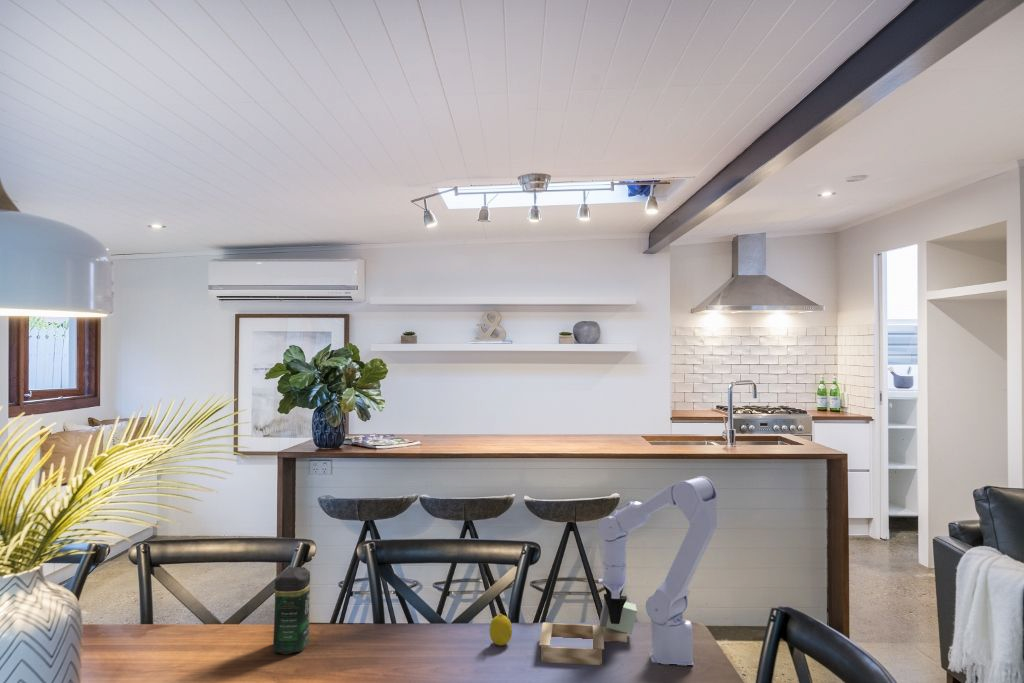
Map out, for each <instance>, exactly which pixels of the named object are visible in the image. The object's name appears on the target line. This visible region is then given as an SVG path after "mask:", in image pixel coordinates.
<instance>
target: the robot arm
mask: <svg viewBox="0 0 1024 683" xmlns="http://www.w3.org/2000/svg"><path fill="white" fill-rule="evenodd" d="M718 498H719V493H718V490H717V489H716V487H715V485H714V483H713V481H712V480H711V479H709V478H708V477H706V476H704V475H700V476H696V477H694V478H691V479H690V478H689V479H686V480H681V481H677V482H676V483H673V484H671V485H669V486H666V487H664V488H663V489H661V490H660V491H658V492H657V493H655V494H654V495H652V496H650V497H649V498H648V499H646V500H645V501H643V502H640V501H636V500H635V501H632V500H631V501H628V502H626V503H625V505H626V506H625V507H622V508H621V509H620V510H619V509H616V510H614V511H613V512H612V513H613V515H610V516H603V517H602V519H601V520H600V521H599V523H598V532H599V534H600V535H599V536H601V538H602V578H599V579H598V585H603V589H604V590H605V593H603V600H604V599H605V601H606V604H607V606H608V610H609V617H610V622H611V624H619V623H620V620H621V614H622V609H623V606H624V604H625V602H627V600H628V597H627V595H622V593H623V591H624V588H626V586H627V585H628V583H627V582H628V581H627V576H626V575H627V566H626V565H627V557H626V556H627V555H626V554H627V552H626V549H627V544H626V543H627V541H628V539H627V538H628V535H630V533H631V532H633V531H635V530H636V529H638V528H640V527H641V526H643V525H645V524H647V523H648V521H649V520H650V515H651V514H653V513H655V512H657V511H659V510H661V509H663V508H665V507H666V506H669V505H671V506H676V507H678V509H679V510H680V511H681V513H682V514H683V515H684V516H685V517H686V519H687V520H688V521H689V524H690V526H689V528H688V530H687V532H686V534H685V536H684V538H683V540H682V543H681V544H680V546H679V549H678V552H677V554H676V555H675V557H674V559H673V562H672V564H671V566H670V568H669V571H668V572H667V575H666V577H665V579H664V581H663V582H661V584H660V585H658V587H657V588H656V590H655V592H654V593H653V594H652V595H651V596H649V597H648V598H647V600H646V601H645V602H646V603H645V610H646V614H647V616H648V617H649V619H650V622H651V647H652V653H651V654H652V655H651V654H650V653H649V656H650V660H651V662H652V663H657V664H658V663H662V664H661V665H669V664H677V665H676V666H687V665H693V666H694V657H693V656H694V650H693V649H694V645H693V643H694V640H693V638H694V637H693V626H692V621H691V620H687V619H684V612H686V610H687V609H688V604H689V602H688V600H689V599H688V598H689V595H690V593H691V591H690V589H689V586H690V584H691V581H692V580H693V576H694V575H695V573H696V571H697V568H698V567H699V564H700V562H701V560H702V558H703V556H704V554H705V552H706V550H707V548H708V546H709V543H710V542H711V539H712V537H713V535H714V533H715V532H716V528H717V525H718V515H717V501H718Z"/></svg>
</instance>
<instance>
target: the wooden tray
mask: <svg viewBox="0 0 1024 683" xmlns="http://www.w3.org/2000/svg"><path fill="white" fill-rule="evenodd" d="M551 637H563V638H582V639H593V649H589V648H570V647H551V646H550V642H551ZM539 638H540V639H539V642H538V643H539V644H538V646H539V647H540V656H541V657H540V662H541V663H552V664H553V663H555V664H571V665H573V664H574V665H589V666H591V665H592V666H602V665H603V650H605V641H604V638H603V625H600V624H578V623H560V622H555V623H554V622H542V626H541V632H540V637H539Z"/></svg>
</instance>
